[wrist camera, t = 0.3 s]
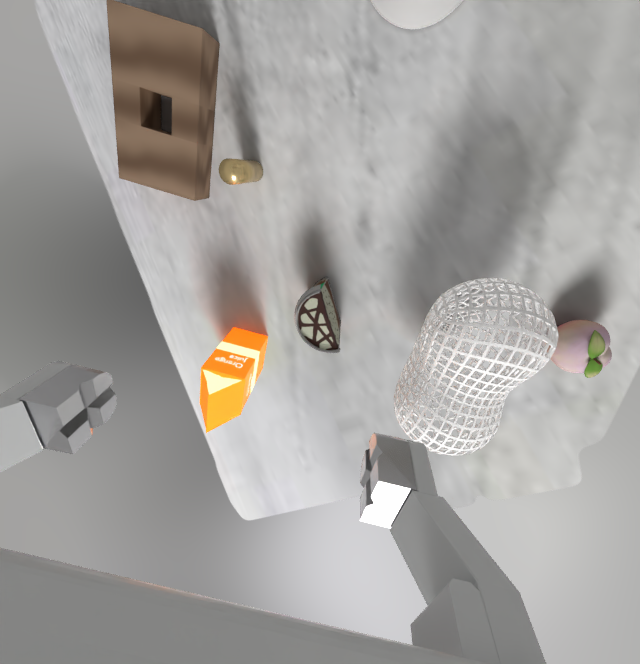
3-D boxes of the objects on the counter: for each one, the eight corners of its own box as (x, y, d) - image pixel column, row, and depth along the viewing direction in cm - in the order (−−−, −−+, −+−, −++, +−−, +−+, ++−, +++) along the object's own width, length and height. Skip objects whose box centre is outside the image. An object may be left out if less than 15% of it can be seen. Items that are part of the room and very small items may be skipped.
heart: (427, 241, 50) (470, 287, 30) (517, 262, 49) (618, 323, 30) (377, 371, 63) (385, 460, 44) (448, 388, 63) (486, 485, 44)
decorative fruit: (530, 320, 54) (563, 349, 45) (582, 303, 51) (628, 330, 43) (539, 360, 58) (571, 394, 49) (588, 346, 55) (631, 379, 46)
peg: (246, 158, 47) (220, 155, 38) (264, 163, 47) (242, 162, 38) (243, 178, 48) (217, 180, 40) (261, 184, 48) (239, 187, 40)
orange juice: (229, 359, 67) (183, 427, 49) (233, 326, 62) (183, 387, 45) (263, 368, 67) (229, 439, 49) (269, 336, 62) (233, 400, 45)
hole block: (133, 16, 40) (106, -2, 36) (219, 43, 40) (202, 28, 36) (140, 177, 50) (119, 177, 46) (208, 197, 50) (194, 200, 46)
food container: (294, 277, 55) (281, 297, 47) (325, 269, 54) (318, 288, 45) (313, 333, 61) (305, 361, 52) (342, 327, 59) (339, 355, 51)
